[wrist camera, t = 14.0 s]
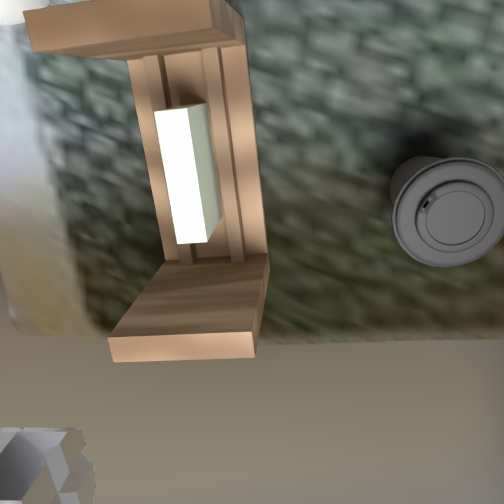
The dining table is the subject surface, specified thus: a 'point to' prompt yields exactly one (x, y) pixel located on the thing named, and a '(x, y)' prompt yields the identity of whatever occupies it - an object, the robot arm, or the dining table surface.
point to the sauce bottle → (18, 10)
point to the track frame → (226, 162)
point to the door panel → (189, 171)
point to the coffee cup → (447, 209)
